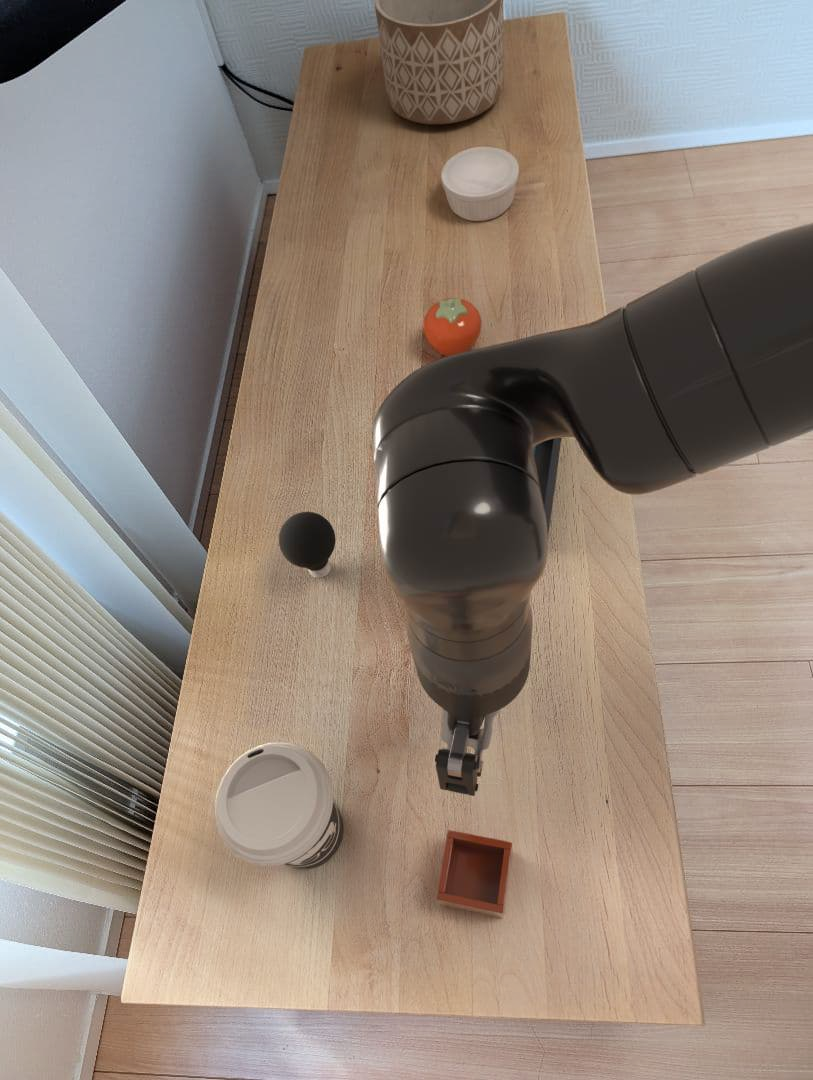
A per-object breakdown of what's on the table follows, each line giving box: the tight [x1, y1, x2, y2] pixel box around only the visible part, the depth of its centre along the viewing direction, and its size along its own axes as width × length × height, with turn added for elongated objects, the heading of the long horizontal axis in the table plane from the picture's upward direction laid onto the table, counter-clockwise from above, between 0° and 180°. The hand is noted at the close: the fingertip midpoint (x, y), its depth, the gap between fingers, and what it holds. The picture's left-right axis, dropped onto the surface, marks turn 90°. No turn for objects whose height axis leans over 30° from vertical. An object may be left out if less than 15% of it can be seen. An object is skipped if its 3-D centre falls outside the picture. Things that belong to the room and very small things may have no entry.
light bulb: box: [278, 511, 337, 579], centre depth 83 cm, size 6×6×10 cm
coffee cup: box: [214, 741, 344, 870], centre depth 67 cm, size 10×10×15 cm
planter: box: [373, 0, 505, 126], centre depth 123 cm, size 19×19×16 cm
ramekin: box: [440, 146, 520, 222], centre depth 114 cm, size 11×11×5 cm
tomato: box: [423, 297, 482, 357], centre depth 99 cm, size 7×7×8 cm
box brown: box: [435, 829, 513, 919], centre depth 68 cm, size 6×6×4 cm
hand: (477, 716), depth 62 cm, fingers open, 8 cm apart
